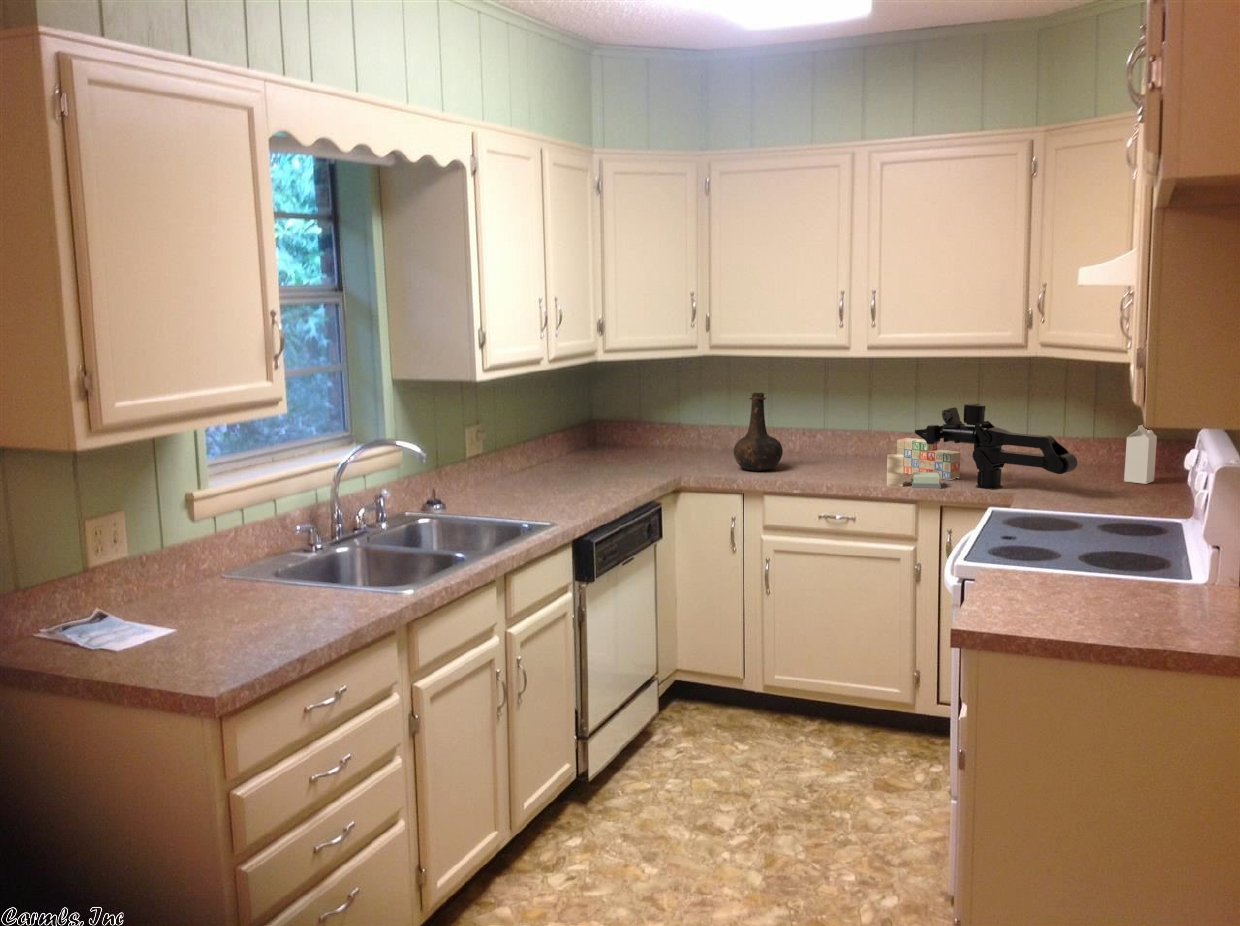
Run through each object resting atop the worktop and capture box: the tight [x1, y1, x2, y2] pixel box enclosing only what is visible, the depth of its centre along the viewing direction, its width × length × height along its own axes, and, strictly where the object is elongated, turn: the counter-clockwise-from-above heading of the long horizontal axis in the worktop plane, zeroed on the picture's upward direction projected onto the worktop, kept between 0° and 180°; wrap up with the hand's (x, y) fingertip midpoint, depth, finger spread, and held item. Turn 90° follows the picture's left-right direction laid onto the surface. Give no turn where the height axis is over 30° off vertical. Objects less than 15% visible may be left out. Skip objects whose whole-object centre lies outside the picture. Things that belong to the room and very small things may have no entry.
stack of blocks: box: [896, 437, 961, 479], centre depth 374 cm, size 21×6×12 cm, turn 42°
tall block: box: [886, 453, 904, 488], centre depth 358 cm, size 5×5×10 cm
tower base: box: [910, 477, 942, 490], centre depth 357 cm, size 9×9×2 cm
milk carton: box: [1123, 424, 1158, 485], centre depth 356 cm, size 7×7×19 cm
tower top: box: [912, 472, 941, 484], centre depth 356 cm, size 8×8×2 cm
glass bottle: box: [733, 392, 784, 472], centre depth 391 cm, size 18×18×28 cm
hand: (922, 430), depth 368 cm, fingers open, 9 cm apart
